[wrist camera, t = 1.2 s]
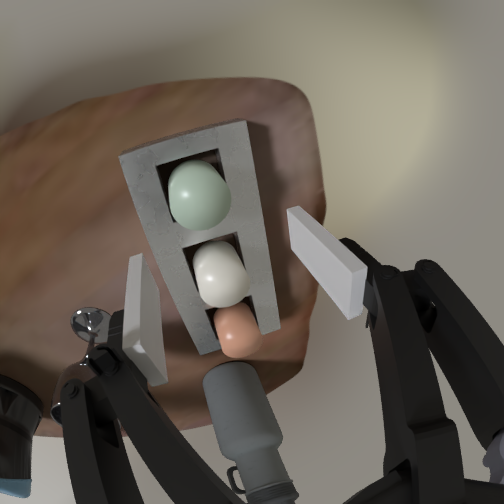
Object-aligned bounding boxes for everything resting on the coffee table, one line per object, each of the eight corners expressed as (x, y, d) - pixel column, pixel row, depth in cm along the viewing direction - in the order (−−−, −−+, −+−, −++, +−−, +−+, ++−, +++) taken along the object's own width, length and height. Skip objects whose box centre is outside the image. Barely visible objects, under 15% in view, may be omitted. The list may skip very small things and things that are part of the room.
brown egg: (218, 334, 37) (227, 362, 33) (208, 308, 35) (217, 338, 30) (253, 322, 38) (265, 349, 34) (247, 296, 35) (259, 323, 31)
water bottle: (239, 393, 51) (289, 519, 28) (193, 390, 46) (234, 533, 24) (264, 361, 48) (331, 503, 25) (214, 356, 43) (272, 523, 20)
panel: (197, 340, 40) (200, 355, 38) (122, 151, 25) (118, 156, 22) (273, 314, 42) (280, 328, 40) (237, 118, 27) (245, 120, 24)
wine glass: (114, 303, 33) (107, 404, 21) (126, 344, 37) (129, 437, 25) (60, 306, 31) (37, 402, 18) (77, 346, 34) (68, 435, 22)
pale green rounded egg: (176, 215, 27) (179, 238, 23) (162, 168, 25) (162, 182, 20) (224, 200, 28) (236, 220, 24) (213, 153, 25) (224, 164, 21)
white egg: (199, 284, 32) (207, 313, 28) (187, 248, 30) (193, 275, 25) (241, 271, 33) (254, 298, 29) (232, 234, 30) (245, 258, 26)
